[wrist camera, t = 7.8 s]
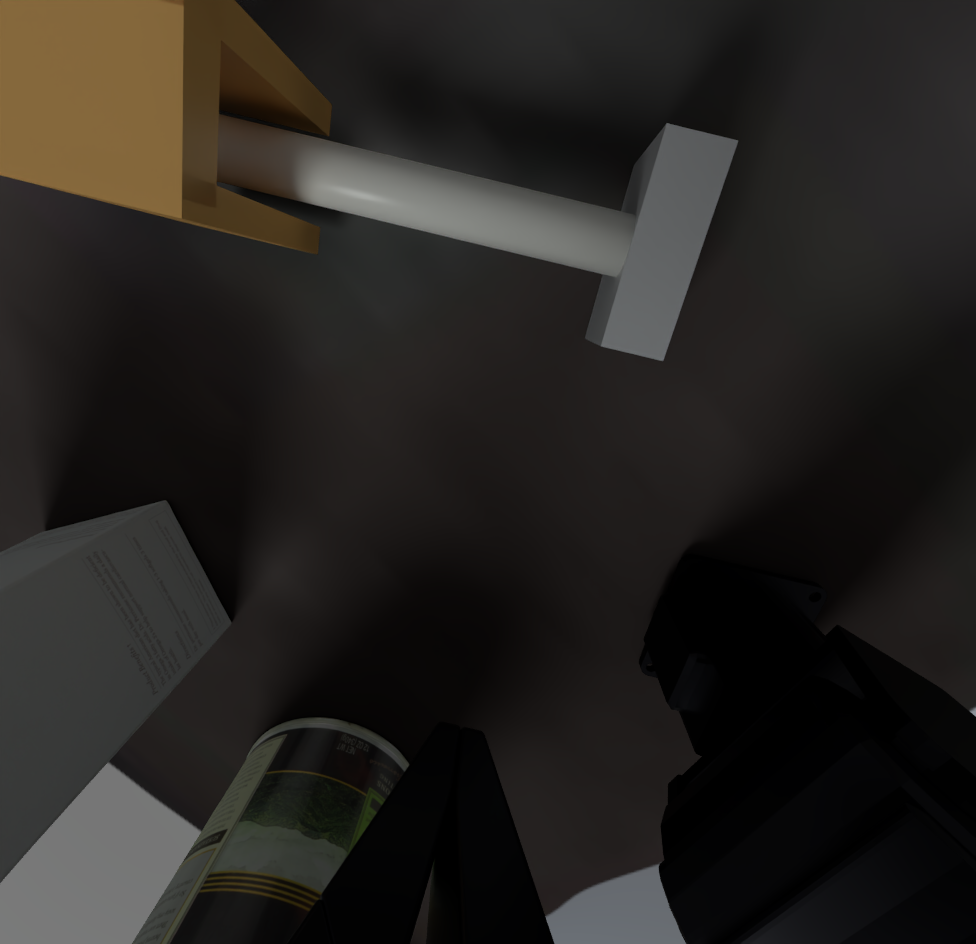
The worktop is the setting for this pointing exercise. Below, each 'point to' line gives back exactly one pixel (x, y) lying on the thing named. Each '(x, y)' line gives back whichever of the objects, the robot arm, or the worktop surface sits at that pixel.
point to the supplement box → (90, 654)
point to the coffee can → (277, 835)
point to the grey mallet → (518, 214)
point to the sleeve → (147, 106)
